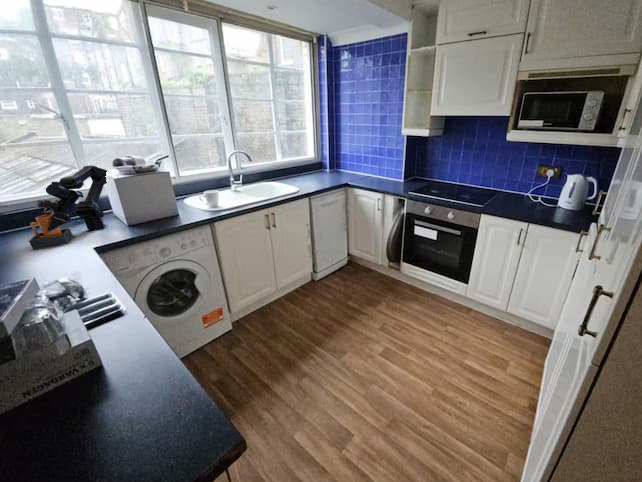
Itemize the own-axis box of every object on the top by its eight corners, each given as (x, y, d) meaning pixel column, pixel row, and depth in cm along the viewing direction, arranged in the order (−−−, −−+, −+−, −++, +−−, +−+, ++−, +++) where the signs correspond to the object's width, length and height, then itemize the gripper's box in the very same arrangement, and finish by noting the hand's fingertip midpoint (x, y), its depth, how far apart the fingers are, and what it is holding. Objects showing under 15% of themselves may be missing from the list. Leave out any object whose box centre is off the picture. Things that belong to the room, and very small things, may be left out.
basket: (73, 236, 152) (69, 228, 150) (67, 243, 143) (63, 235, 141) (40, 241, 146) (36, 233, 144) (33, 250, 137) (28, 241, 135)
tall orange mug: (66, 237, 149) (55, 213, 143) (63, 241, 144) (51, 216, 139) (42, 241, 144) (30, 217, 139) (38, 246, 140) (25, 220, 134)
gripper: (41, 190, 143) (19, 217, 139) (50, 195, 133) (27, 225, 129) (69, 201, 152) (49, 228, 148) (79, 207, 142) (58, 235, 138)
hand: (46, 229), depth 141 cm, fingers open, 9 cm apart
